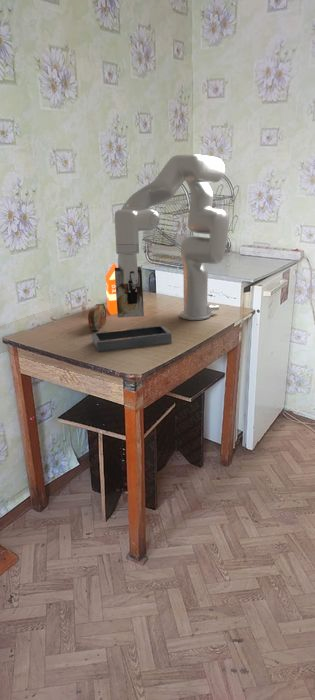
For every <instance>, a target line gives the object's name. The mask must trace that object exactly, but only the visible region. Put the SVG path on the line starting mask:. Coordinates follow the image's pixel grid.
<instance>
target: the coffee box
mask: <svg viewBox="0 0 315 700" xmlns="http://www.w3.org/2000/svg"><path fill="white" fill-rule="evenodd" d="M137 267H138V283H137V284H136V286H137V304H128V300H127V292H128V287H127V284H126V285H124V284H123V282H122V270H120V268H118V266H117V267H115V284H116V301H117V314H116V315H117V318H134V317H145V310H144V301H143V299H144V292H143V291H144V290H143V270H142V267H141V266H137ZM129 283H132V282H131V281H129ZM131 286H132V285H130V287H131Z"/></svg>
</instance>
